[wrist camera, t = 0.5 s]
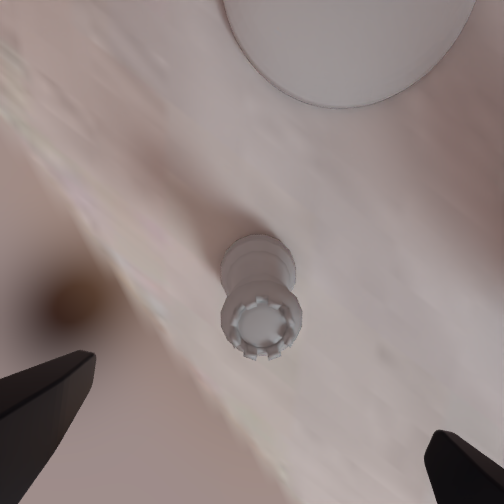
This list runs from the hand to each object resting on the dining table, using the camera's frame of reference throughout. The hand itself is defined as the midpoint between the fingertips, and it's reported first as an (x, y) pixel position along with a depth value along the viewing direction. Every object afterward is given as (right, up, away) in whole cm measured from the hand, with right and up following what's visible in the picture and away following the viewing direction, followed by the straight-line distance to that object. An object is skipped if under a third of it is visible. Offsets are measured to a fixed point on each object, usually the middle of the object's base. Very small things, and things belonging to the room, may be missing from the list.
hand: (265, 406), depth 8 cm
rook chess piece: (0, +3, +12) cm, 12 cm away
